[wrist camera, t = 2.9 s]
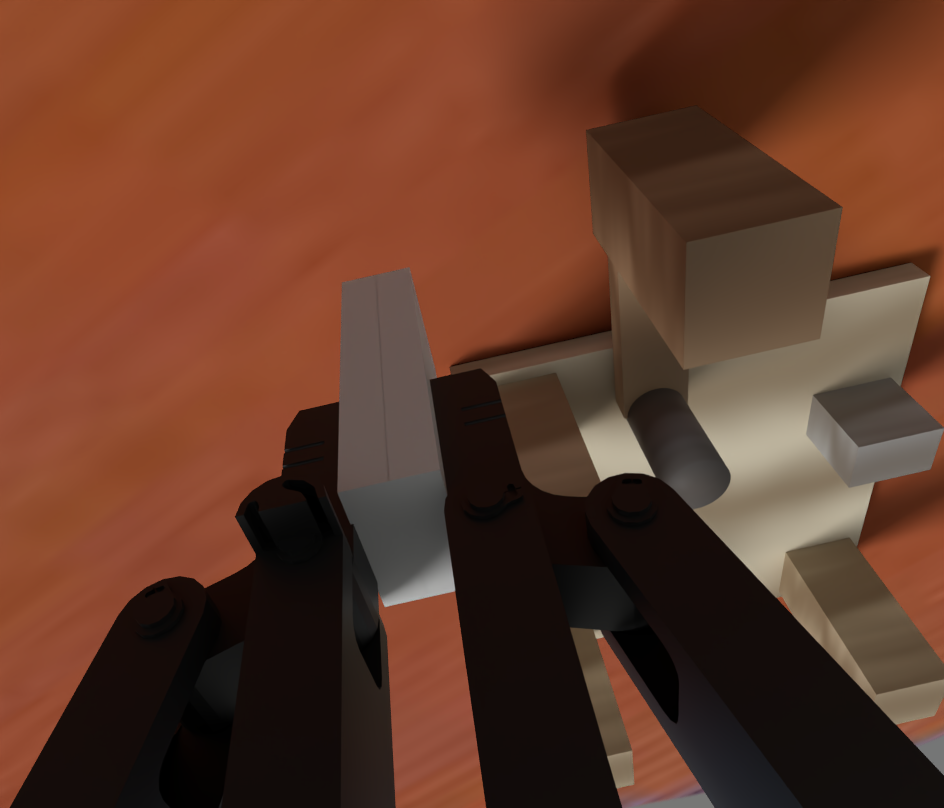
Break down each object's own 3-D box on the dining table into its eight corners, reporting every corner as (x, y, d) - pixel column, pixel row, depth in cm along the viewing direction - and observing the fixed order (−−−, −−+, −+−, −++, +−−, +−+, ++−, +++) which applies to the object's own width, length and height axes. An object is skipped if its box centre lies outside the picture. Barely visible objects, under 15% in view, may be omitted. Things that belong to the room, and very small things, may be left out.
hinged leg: (586, 130, 19) (686, 242, 13) (696, 105, 19) (842, 206, 13) (606, 424, 25) (678, 582, 20) (687, 406, 25) (782, 558, 20)
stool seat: (449, 366, 24) (485, 542, 18) (911, 262, 24) (1106, 401, 18) (514, 638, 35) (551, 808, 29) (836, 565, 35) (943, 718, 29)
